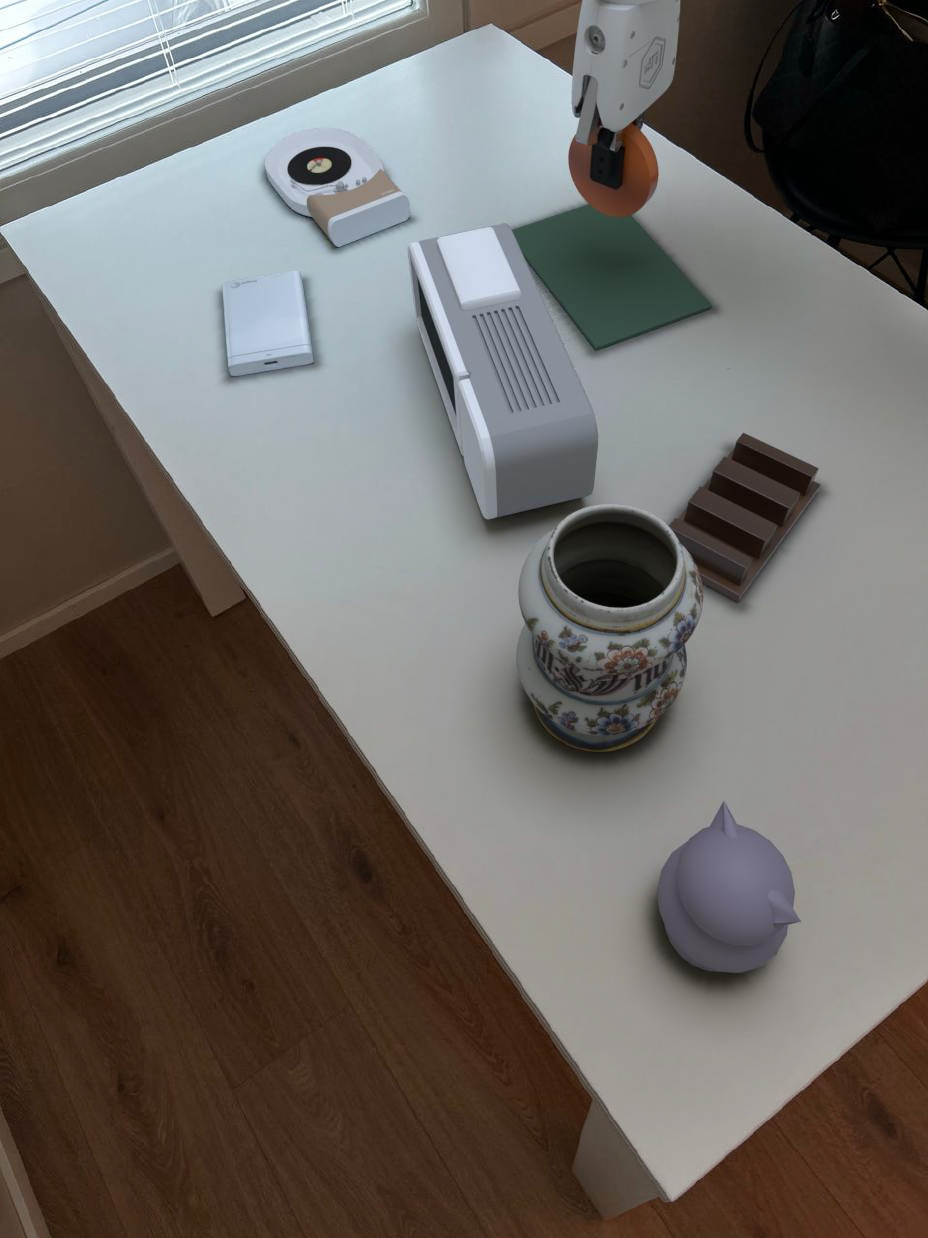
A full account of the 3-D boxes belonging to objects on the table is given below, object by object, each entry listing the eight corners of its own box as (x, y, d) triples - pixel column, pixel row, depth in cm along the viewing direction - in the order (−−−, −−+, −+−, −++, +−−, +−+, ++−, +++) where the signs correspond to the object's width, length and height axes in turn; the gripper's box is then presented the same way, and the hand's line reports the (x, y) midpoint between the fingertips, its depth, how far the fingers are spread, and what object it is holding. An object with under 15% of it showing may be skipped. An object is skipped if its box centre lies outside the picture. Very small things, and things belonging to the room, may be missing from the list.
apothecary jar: (664, 623, 77) (699, 475, 62) (686, 763, 70) (731, 636, 55) (513, 629, 77) (510, 484, 62) (520, 770, 71) (520, 646, 56)
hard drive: (220, 281, 99) (226, 364, 93) (299, 268, 100) (311, 350, 93) (225, 294, 101) (231, 377, 94) (302, 282, 101) (314, 363, 94)
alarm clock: (416, 328, 96) (403, 224, 86) (505, 308, 97) (504, 203, 87) (487, 539, 82) (483, 444, 72) (592, 514, 83) (601, 417, 73)
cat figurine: (626, 890, 66) (645, 829, 56) (724, 841, 67) (760, 773, 57) (694, 1010, 61) (728, 968, 51) (797, 955, 63) (850, 904, 53)
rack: (734, 451, 86) (742, 423, 83) (818, 491, 83) (829, 464, 80) (651, 556, 80) (656, 530, 77) (737, 602, 77) (746, 578, 74)
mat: (711, 308, 96) (712, 305, 95) (595, 350, 93) (596, 347, 93) (613, 198, 106) (613, 195, 105) (506, 234, 103) (506, 231, 103)
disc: (574, 190, 96) (579, 101, 88) (652, 222, 92) (664, 132, 85) (565, 198, 95) (570, 109, 87) (644, 230, 92) (655, 141, 84)
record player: (319, 227, 101) (246, 136, 110) (324, 252, 103) (252, 162, 113) (417, 188, 103) (337, 103, 113) (420, 214, 106) (341, 129, 116)
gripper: (618, 18, 71) (599, 235, 86) (724, -69, 77) (689, 148, 92) (534, -9, 73) (531, 206, 89) (643, -91, 79) (622, 124, 95)
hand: (612, 176), depth 91 cm, fingers closed on disc, 1 cm apart
